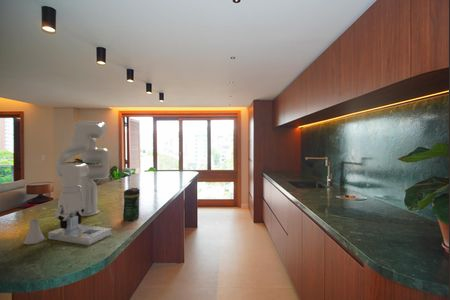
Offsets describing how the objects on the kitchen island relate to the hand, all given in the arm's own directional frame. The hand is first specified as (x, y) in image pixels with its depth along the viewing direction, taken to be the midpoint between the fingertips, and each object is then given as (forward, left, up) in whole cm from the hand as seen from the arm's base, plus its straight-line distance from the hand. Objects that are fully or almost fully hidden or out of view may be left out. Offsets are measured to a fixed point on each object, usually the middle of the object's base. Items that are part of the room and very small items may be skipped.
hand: (71, 225), depth 112 cm
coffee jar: (+11, +31, -5) cm, 33 cm away
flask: (-8, -11, -5) cm, 15 cm away
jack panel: (+6, 0, -5) cm, 8 cm away
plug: (0, 0, -5) cm, 5 cm away
